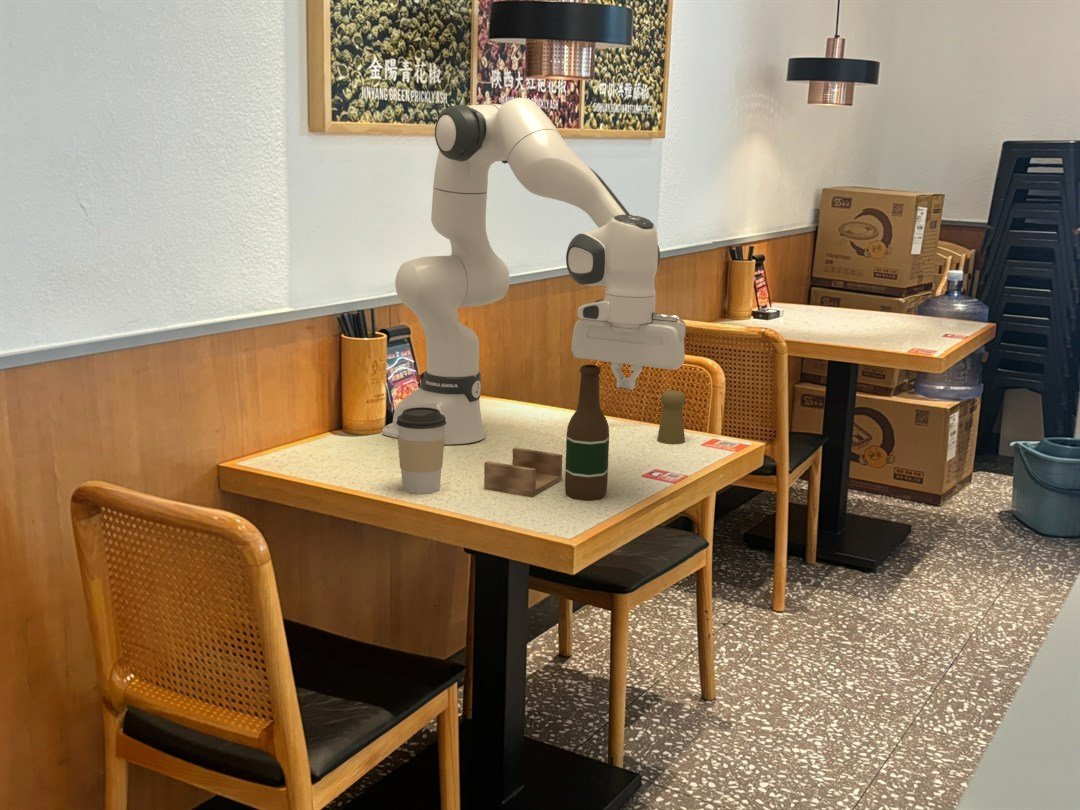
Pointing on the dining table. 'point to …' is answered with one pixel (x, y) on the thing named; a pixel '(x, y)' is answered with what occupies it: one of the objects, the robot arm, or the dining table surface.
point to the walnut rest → (524, 472)
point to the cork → (672, 418)
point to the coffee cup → (421, 449)
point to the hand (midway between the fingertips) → (625, 388)
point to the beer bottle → (587, 442)
